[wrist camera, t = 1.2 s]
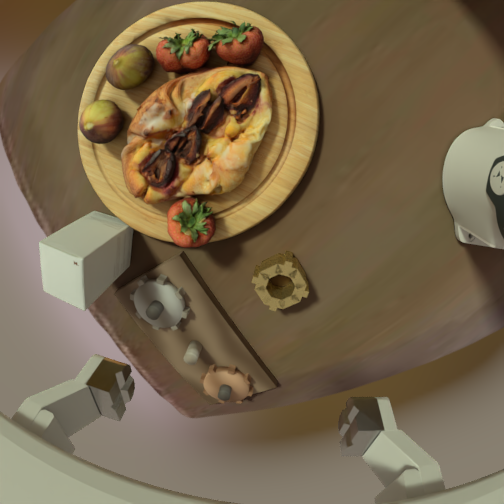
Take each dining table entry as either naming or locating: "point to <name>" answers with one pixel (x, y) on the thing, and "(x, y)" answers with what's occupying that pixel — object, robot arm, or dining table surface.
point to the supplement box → (85, 258)
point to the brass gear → (275, 294)
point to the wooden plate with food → (198, 122)
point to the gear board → (195, 332)
